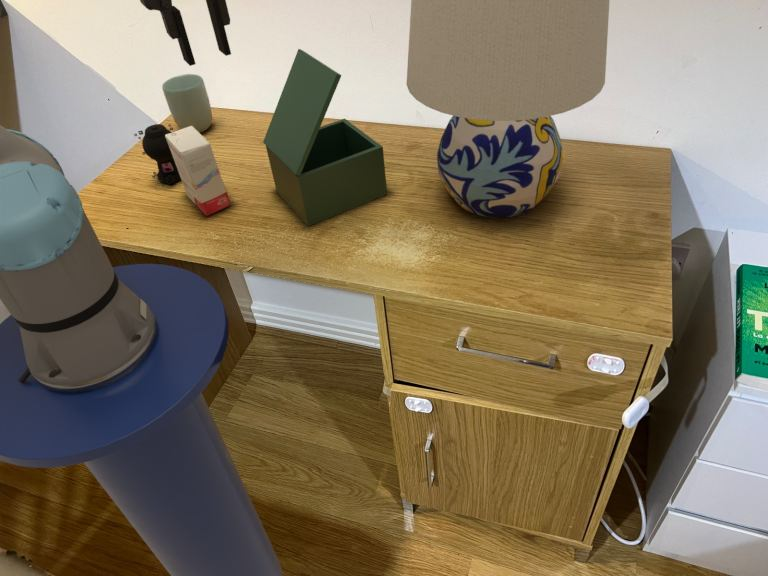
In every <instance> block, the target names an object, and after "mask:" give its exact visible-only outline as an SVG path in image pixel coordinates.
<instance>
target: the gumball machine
mask: <svg viewBox="0 0 768 576" xmlns="http://www.w3.org/2000/svg"><path fill="white" fill-rule="evenodd" d="M167 126H168V127H169V129H168V128H167V127H166V126H165V125H164V124H161V123H157V124H156V123H155V124H152V125H149V126H147V127H146V128H145V129H144V131H143V130H138V131H137V132H138V134H139V135H140V136H138V134H137V133H134V135H133V136H134V137H138V140H141V139H142V140H141V141H142V142H141V144H142V149H143V151H142V152H141V153H142V155H143V156H144V155H147V156H148V157H149V158H150V159H151V160H153V161H155V162H156V164H157V170H158V171H157V172H156V171H154V172H153V175H152V176H151V177H152V178H153V179H155V178H156V177H157V180H158V181H159V182H161V184H160V187H164V184H168V185H172V184H174V183H176V182H177V181H180V180H181V177H180V175H179V172H178V169H177V166H176V164H175V161H174V158H173V156H172V153H171V150H170V148H169V145H168V142H167V140H166V137H165V135H166V134H169V133H172V131H173V130H174V128H173V127H172V125H171V124H168V125H167ZM141 135H142V136H143V135H144V136H143V138H141Z"/></svg>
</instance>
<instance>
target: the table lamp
mask: <svg viewBox="0 0 768 576" xmlns="http://www.w3.org/2000/svg"><path fill="white" fill-rule="evenodd" d="M609 14H610V0H410V16H409V17H410V19H409V34H408V52H407V69H406V88H407V90H408V93H409V94H410V95H411V96H412V97H413V98H414V99H415V100H416V101H417V102H419V103H420V104H421V105H424V106H425V107H426V108H429V109H432V110H434V111H437V112H439V113H442V114H445V115H449V116H451V118H450V119H449V121H448V122H447V125H446V127H445V129H444V130H443V133H442V136H441V138H440V140H439V141H440V142H439V145H438V149H437V152H436V161H437V171H438V172H437V173H438V175H439V177H440V178H439V179H440V180H441V182H442V184H443V186H444V188H445V189H446V191H447V192H448V193H449V195H450V196H451V197H452V199H454V201H455V202H456V203H457V204H458V205H459V206H460V207H461V208H462V209H464V210H465V211H467V212H469V213H471V214H474V215H476V216H477V215H478V216H480V217H485V218H496V219H497V218H499V219H500V218H503V219H504V218H511V217H516V216H519V215H523V214H524V213H528V212H529V211H531V210H532V209H533V208H535V207H536V206H537V205H538V204H539V203H540V202H541V201H542V200H543V199H544V198H545V197H546V196H547V195H548V194H549V192H550V191H551V190H552V188H553V187H554V186H555V184H556V182H557V181H558V180H559V177H560V175H561V170H562V165H563V160H564V151H563V145H562V140H561V139H562V138H561V136H560V133H559V131H558V128H557V125H556V122H555V120H554V119H553V117H552V116H555V115H559V114H564V113H566V112H569V111H572V110H575V109H577V108H579V107H582V106H583V105H585V104H587V103H589V102H590V101H593V99H595V98H596V97H597V96H598V95H599V94H600V93H601V92H602V90H603V88H604V86H605V84H606V71H607V69H606V68H607V53H608V52H607V51H608V35H609Z"/></svg>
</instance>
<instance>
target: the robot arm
mask: <svg viewBox="0 0 768 576" xmlns="http://www.w3.org/2000/svg"><path fill="white" fill-rule="evenodd" d="M139 2H140V3H141V5H142V6H143V7H145V8H146V9H147V10H148V11H159V13H160V15H161V19H162V22H163V24H164V28H165V32H166V35H168V36H169V38H171V40H177V42H178V45H179V48H180V52H181V55H182V58H183V61H184V62H185V63H186V64H187V65H188V66H189V67H191V66H195V65H196V64H197V63H196V60H195V57H194V54H193V53H194V52H193V50H192V47H191V43H190V39H189V37H188V34H187V31H186V27H185V23H184V19H183V16H182V12H181V10H180V9H178V8H177V6H174V5H173V0H139ZM205 3H206V6H207V10H208V15H209V17H210V23H211V26H212V29H213V33H214V37H215V40H216V44H217V48H218V51H219V52H221V53H222V54H223V55H224V56H226V57H227V56H230V55H232V51H231V48H230V47H231V46H230V44H229V40H228V35H227V32H226V28H225V26H229V25H231V16H230V12H229V8H228V5H227V0H205ZM113 267H114V266H113V265H112V264H111V261H110V259H109V257H108V255H107V254H106V251H105V250H104V247H103V245H102V244H101V242H100V239H99V238H98V235H97V234H96V232H95V230H94V227H93V225H92V224H91V221H90V220H89V218H88V215H87V214H86V212H85V209H84V208H83V203H82V201H81V198H80V196H79V193H78V192H77V190H76V189H75V188H74V186H73V185H72V184H70V182H69V180H68V178H67V177H66V176H65V172H64V171H63V168H62V166H61V164H60V162H59V161H58V159H57V158H55V156H54V154H53V153H52V152H51V151H50V150H49V149H48V148H47V147H45V146H44V145H43V143H40V142H39V141H37V140H36V139H35V138H34V137H32V136H29V135H27V134H25V133H23V132H20V131H18V130H13V129H9V128H6V127H4V126H2V125H1V124H0V301H1V303H2V304H3V305H4V307H5V308H6V310H7V311H8V312H9V314H10V315H12V316H13V318H14V319H15V321H16V322H17V324H18V325H19V327H20V332H21V337H22V342H23V347H24V353H25V358H26V363H27V365H28V368H27V369H26V371H25V372H24V373H23V374H22V376H21V377H20V378H19V379H18V381H19V382H20V383H24V382H25V381H26V379H27V378H28V377H29V376H30V374H32V375H33V376H34V378H35V379H36V380H37V382H38V383H39V384H40V385H41V386H42V387H44V388H45V389H47V390H49V391H52V392H56V393H61V394H78V393H85V392H90V391H93V390H97V389H100V388H103V387H105V386H108V385H110V384H112V383H114V382H116V381H118V380H120V379H121V378H123V377H125V376H126V375H128V374H129V373H130V372H132V371H133V370H134V369H135V368H137V367H138V366H139V365H140V364H141V363H142V362H143V361H144V360H145V359H146V358H147V356H148V355H149V354H150V352H151V351H152V349H153V347H154V345H155V343H156V340H157V337H158V324H157V321H156V319H155V317H154V315H153V313H152V311H151V309H150V308H149V306H148V305H147V304H146V303H145V302H144V301H143V300H142V299H140V298H139V297H138V296H137V295H136V294H135V293H134V292H132V291H131V290H130V289H129V288H128V287H127V286H126V285H124V284H123V283H122V282H121V281H120V280H119V279H118V277H117V275H116V273H115V271H114V269H113Z"/></svg>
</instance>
